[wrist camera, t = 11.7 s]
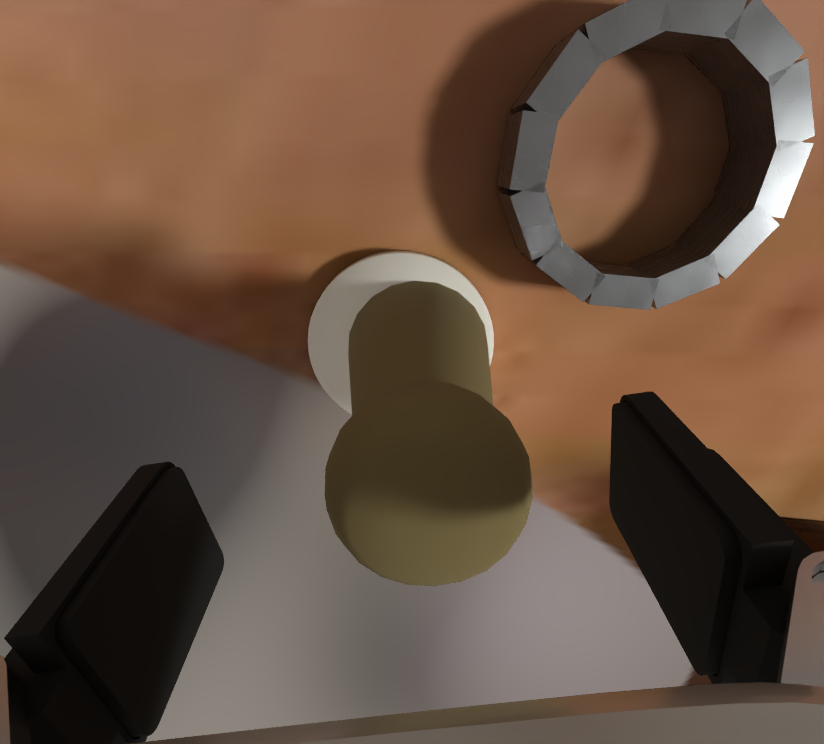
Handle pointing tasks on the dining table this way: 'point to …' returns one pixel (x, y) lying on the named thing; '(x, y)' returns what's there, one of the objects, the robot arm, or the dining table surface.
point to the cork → (425, 443)
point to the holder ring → (744, 168)
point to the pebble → (355, 291)
